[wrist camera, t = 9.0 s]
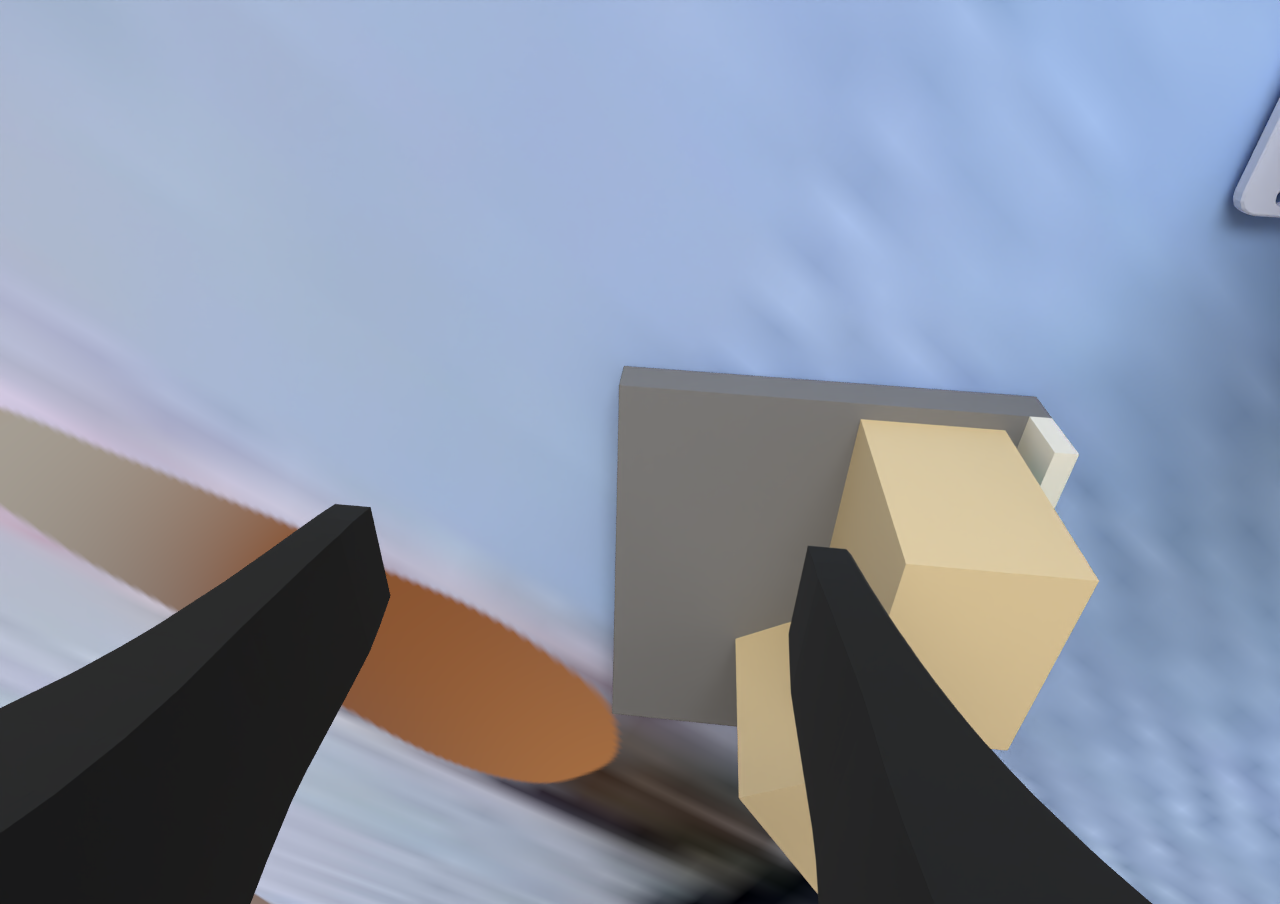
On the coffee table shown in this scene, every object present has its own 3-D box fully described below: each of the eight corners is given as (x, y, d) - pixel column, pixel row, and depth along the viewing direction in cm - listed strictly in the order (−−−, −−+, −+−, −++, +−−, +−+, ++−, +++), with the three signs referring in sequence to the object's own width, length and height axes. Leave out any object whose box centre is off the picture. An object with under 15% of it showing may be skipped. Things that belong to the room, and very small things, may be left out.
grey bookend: (1036, 396, 21) (1079, 454, 18) (909, 718, 29) (926, 788, 27) (623, 366, 21) (611, 417, 19) (615, 688, 30) (606, 753, 27)
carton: (902, 709, 27) (942, 874, 22) (801, 734, 28) (819, 895, 23) (842, 605, 24) (873, 767, 19) (735, 638, 26) (738, 797, 21)
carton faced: (947, 585, 23) (1008, 750, 18) (823, 574, 24) (850, 734, 19) (1006, 430, 20) (1099, 581, 15) (860, 419, 20) (906, 563, 15)
